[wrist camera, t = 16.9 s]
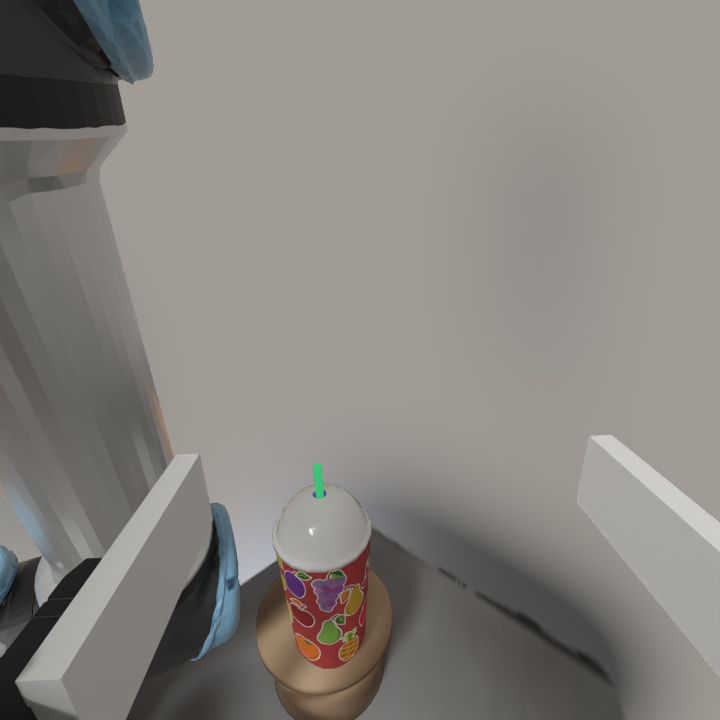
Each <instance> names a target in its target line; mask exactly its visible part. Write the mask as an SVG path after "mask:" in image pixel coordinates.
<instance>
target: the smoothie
mask: <svg viewBox="0 0 720 720" xmlns="http://www.w3.org/2000/svg"><path fill="white" fill-rule="evenodd" d="M314 478H315V485H311V486H309V487H306V488H304V489H302V490H301V491H299V492H298V493H297V494H295V495H294V496H293V497H292V498H291V499H290V501H289V502H288V503H287V505H286V506H285V507H284V509H283V511H282V513H281V516H280V517H279V518H278V520H277V521H276V523H275V526H274V530H273V533H272V538H273V546H274V549H275V551H276V554H277V560H278V564H279V569H280V573H281V578H282V582H283V587H284V591H285V596H286V600H287V605H288V609H289V614H290V618H291V623H292V627H293V632H294V636H295V641H296V646H297V648H298V649H299V651H300V653H301V655H302V656H303V657H304V658H306V659H307V660H308V661H309V662H310V663H312V664H314V665H315V666H317V667H320V668H323V669H334V668H337V667H340V666H342V665H344V664H345V663H347V662H348V661H349V660H350V659H352V657H353V656H354V655H355V654H356V652H357V651H358V649H359V648H360V646H361V645H362V643H363V639H364V636H365V629H366V610H367V591H368V572H369V553H370V538H371V521H370V518H369V516H368V514H367V512H366V510H364V508H363V507H361V505H360V504H359V502H358V501H357V500H356V499H355V498H354V497H353V496H352V495H351V494H350V493H349V492H348V491H346V490H345V489H343V488H341V487H339V486H336V485H332V484H323V481H322V469H321V464H320V463H316V464H314Z"/></svg>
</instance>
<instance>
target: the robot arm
mask: <svg viewBox="0 0 720 720" xmlns="http://www.w3.org/2000/svg"><path fill="white" fill-rule="evenodd" d="M153 67H154V66H153V58H152V52H151V47H150V43H149V40H148V34H147V29H146V26H145V23H144V19H143V15H142V11H141V7H140V3H139V0H0V493H1V494H2V496H3V497H4V499H5V500H6V502H7V503H8V505H9V506H10V507H11V509H12V510H13V512H14V513H15V515H16V516H17V518H18V519H19V521H20V522H21V524H22V525H23V527H24V528H25V530H26V531H27V533H28V534H29V536H30V537H31V538H32V540H33V541H34V543H35V544H36V546H37V547H38V549H39V550H40V552H41V553H42V556H40V557H37V558H34V559H30V560H27V561H24V562H20V563H18V559H17V557H16V554H14V553H13V552H12V551H9V550H8V549H7V548H6V547H4V546H1V545H0V720H126V718H127V716H128V713H129V711H130V709H131V707H132V704H133V702H134V700H135V697H136V695H137V693H138V691H139V688H140V686H141V684H142V682H143V681H145V680H147V679H149V678H152V677H154V676H156V675H158V674H160V673H163V672H165V671H167V670H169V669H171V668H174V667H176V666H178V665H180V664H182V663H185V662H187V661H189V660H190V661H195V660H197V659H200V658H201V656H204V654H206V652H207V651H209V650H211V649H213V648H215V647H217V646H219V645H221V644H223V643H225V642H226V641H228V640H229V639H230V638H231V637H232V636H233V635H234V633H235V631H236V630H237V627H238V624H239V620H240V612H241V594H240V584H239V580H238V561H237V553H236V547H235V541H234V535H233V531H232V526H231V522H230V518H229V515H228V513H227V510H226V508H225V507H224V506H223V505H222V504H219V503H212V504H210V502H209V497H208V492H207V487H206V482H205V477H204V472H203V467H202V463H201V458H200V454H181V455H176V456H175V457H174V456H173V453H172V449H171V445H170V441H169V438H168V434H167V430H166V427H165V423H164V419H163V415H162V412H161V408H160V404H159V400H158V397H157V393H156V389H155V386H154V382H153V378H152V374H151V371H150V367H149V363H148V359H147V356H146V352H145V348H144V345H143V341H142V337H141V333H140V330H139V326H138V322H137V318H136V315H135V311H134V307H133V303H132V300H131V296H130V292H129V289H128V285H127V281H126V277H125V274H124V270H123V266H122V262H121V259H120V255H119V251H118V248H117V244H116V240H115V237H114V233H113V229H112V225H111V222H110V218H109V214H108V211H107V207H106V203H105V199H104V195H103V192H102V188H101V184H100V180H99V177H100V167H101V165H102V163H103V162H104V161H105V160H106V158H107V157H108V156H109V154H110V153H111V152H112V151H113V149H114V148H115V147H116V145H117V144H118V143H119V142H120V140H121V139H122V138H123V137H124V135H125V134H126V133H127V126H126V120H125V115H124V111H123V106H122V102H121V97H120V92H119V88H118V80H121V79H123V80H125V81H127V82H129V83H131V84H133V83H134V81H137V80H142V79H147V78H149V77H150V76H151V74H152V73H153ZM576 502H577V503H578V505H579V506H580V507H581V508H582V510H583V511H584V512H585V513H586V515H587V516H588V517H589V518H590V519H591V521H592V522H593V523H594V524H595V525H596V527H597V528H598V529H599V530H600V532H601V533H602V534H603V535H604V537H605V538H606V539H607V540H608V542H609V543H610V544H611V545H612V546H613V548H614V549H615V550H616V551H617V553H618V554H619V555H620V556H621V557H622V559H623V560H624V561H625V562H626V564H627V565H628V566H629V567H630V569H631V570H632V571H633V572H634V573H635V574H636V576H637V577H638V578H639V579H640V581H641V582H642V583H643V584H644V586H645V587H646V588H647V589H648V591H649V592H650V593H651V594H652V595H653V597H654V598H655V599H656V600H657V602H658V603H659V604H660V605H661V606H662V608H663V609H664V610H665V611H666V613H667V614H668V615H669V616H670V618H671V619H672V620H673V621H674V622H675V624H676V625H677V626H678V627H679V628H680V630H681V631H682V632H683V633H684V635H685V636H686V637H687V638H688V639H689V641H690V642H691V643H692V645H693V646H694V647H695V648H696V649H697V651H698V652H699V653H700V654H701V656H702V657H703V658H704V659H705V660H706V662H707V663H708V664H709V665H710V667H711V668H712V669H713V670H714V672H715V673H716V674H717V675H718V676H719V678H720V523H719V522H718V521H717V520H715V519H714V518H713V517H712V516H711V515H709V514H708V513H707V512H706V511H704V510H703V509H702V508H701V507H700V506H698V505H697V504H696V503H695V502H694V501H692V500H691V499H690V498H689V497H687V496H686V495H685V494H683V493H682V492H681V491H680V490H679V489H677V488H676V487H675V486H674V485H672V484H671V483H670V482H669V481H668V480H666V479H665V478H664V477H663V476H662V475H660V474H659V473H658V472H657V471H655V470H654V469H653V468H651V467H650V466H649V465H648V464H647V463H646V462H644V461H643V460H642V459H640V458H639V457H638V456H637V455H635V454H634V453H633V452H632V451H631V450H629V449H628V448H627V447H626V446H625V445H623V444H622V443H621V442H620V441H618V440H617V439H616V438H615V437H614V436H612V435H600V436H589V441H588V445H587V450H586V456H585V460H584V465H583V470H582V475H581V480H580V484H579V489H578V494H577V499H576Z"/></svg>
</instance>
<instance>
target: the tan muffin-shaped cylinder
mask: <svg viewBox="0 0 720 720" xmlns="http://www.w3.org/2000/svg"><path fill="white" fill-rule="evenodd" d="M391 631H392V605H391V601H390V597H389V594H388V591H387V589H386V587H385V585H384V584H383V582H382V581H381V579H380V578H379V577H378V576H377V575H376V574H375V573H374V572H373V571H372V570H371V569H370V568H369V572H368V591H367V610H366V629H365V636H364V639H363V643H362V645H361V646H360V648H359V649H358V651H357V652H356V654H355V655H354V656H353V657H352V659H350V660H349V661H348V662H347V663H345V664H344V665H342V666H340V667H337V668H334V669H323V668H320V667H317V666H315V665H314V664H312V663H310V662H309V661H308V660H307V659H306V658H304V657H303V656H302V655H301V653H300V651H299V649H298V648H297V646H296V641H295V636H294V632H293V627H292V623H291V618H290V614H289V609H288V605H287V600H286V596H285V591H284V587H283V582H282V578H281V576H280V577H279V578H278V579H277V580H276V581H275V582H274V583H273V585H272V586H271V587H270V588H269V590H268V591H267V593H266V595H265V597H264V598H263V600H262V603H261V605H260V608H259V611H258V615H257V622H256V637H257V643H258V648H259V653H260V656H261V659H262V661H263V663H264V665H265V667H266V669H267V670H268V671H269V673H270V674H271V675H272V676H273V677H274V681H275V686H276V691H277V694H278V697H279V700H280V702H281V704H282V706H283V707H284V708H285V710H286V711H287V713H288V714H289V715H290V716H291V717H292V718H294V719H295V720H354V719H356V718H357V717H358V716H360V715H361V714H362V713H363V712H364V711H365V710H366V709H367V707H368V706H369V705H370V704H371V702H372V700H373V699H374V697H375V695H376V693H377V691H378V689H379V686H380V683H381V679H382V673H383V656H384V653H385V651H386V649H387V647H388V644H389V641H390V637H391Z"/></svg>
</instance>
